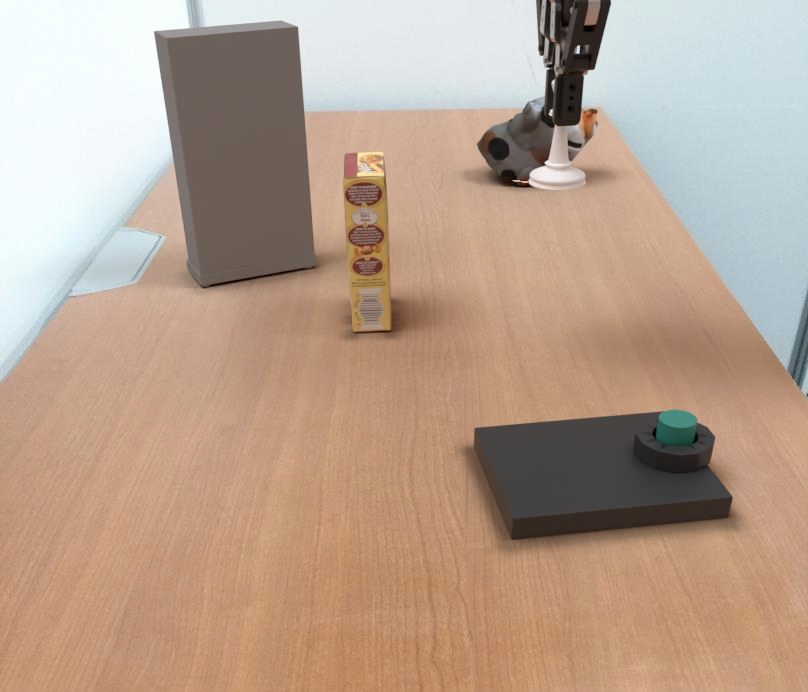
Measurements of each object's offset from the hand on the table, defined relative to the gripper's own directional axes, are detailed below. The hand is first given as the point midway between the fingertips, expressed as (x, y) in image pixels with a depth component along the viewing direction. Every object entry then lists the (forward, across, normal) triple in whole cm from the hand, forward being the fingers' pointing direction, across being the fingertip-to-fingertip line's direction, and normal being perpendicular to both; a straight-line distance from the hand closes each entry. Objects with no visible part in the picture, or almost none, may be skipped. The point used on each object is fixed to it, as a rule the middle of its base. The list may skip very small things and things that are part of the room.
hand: (561, 120), depth 80 cm
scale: (+21, -23, +2) cm, 31 cm away
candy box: (+21, +12, +16) cm, 29 cm away
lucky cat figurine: (+21, +59, -14) cm, 64 cm away
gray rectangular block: (+21, +27, +28) cm, 44 cm away
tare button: (+18, -23, -4) cm, 29 cm away
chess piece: (+5, 0, 0) cm, 5 cm away
